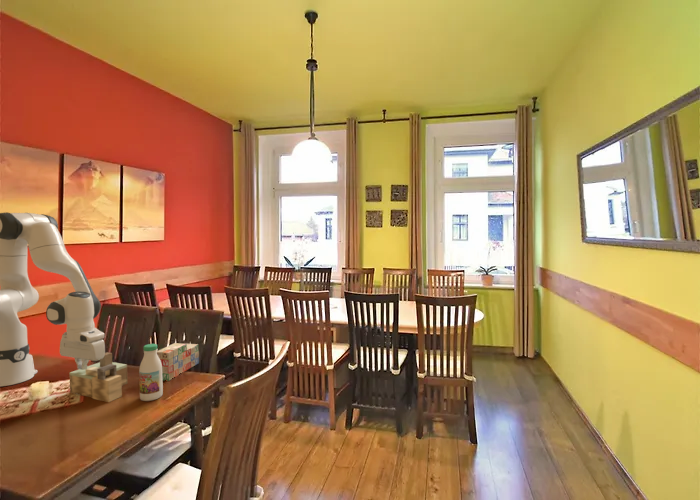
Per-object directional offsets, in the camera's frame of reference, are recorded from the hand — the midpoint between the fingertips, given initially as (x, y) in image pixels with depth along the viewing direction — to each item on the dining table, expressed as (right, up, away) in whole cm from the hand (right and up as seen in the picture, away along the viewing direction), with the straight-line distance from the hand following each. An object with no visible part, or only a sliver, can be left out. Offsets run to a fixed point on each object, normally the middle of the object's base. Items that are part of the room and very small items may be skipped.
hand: (82, 368), depth 143 cm
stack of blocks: (+27, -9, +23) cm, 36 cm away
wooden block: (+8, -1, -3) cm, 8 cm away
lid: (+4, -2, +4) cm, 6 cm away
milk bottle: (+29, -10, -3) cm, 30 cm away
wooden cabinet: (+8, -9, +3) cm, 12 cm away
